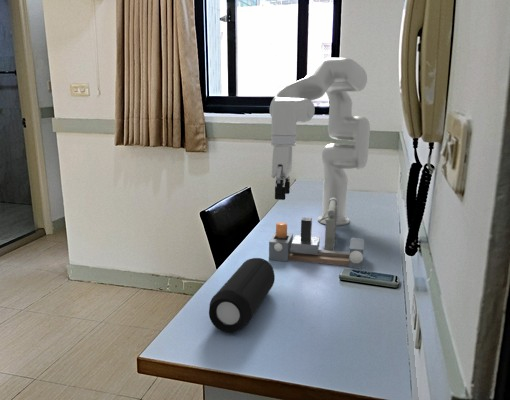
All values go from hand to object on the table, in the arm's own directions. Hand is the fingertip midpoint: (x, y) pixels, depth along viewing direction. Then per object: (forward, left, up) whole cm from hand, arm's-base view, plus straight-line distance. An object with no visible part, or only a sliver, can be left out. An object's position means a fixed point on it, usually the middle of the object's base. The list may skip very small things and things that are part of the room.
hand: (282, 196), depth 147 cm
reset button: (0, 0, -13) cm, 13 cm away
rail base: (0, +11, -20) cm, 23 cm away
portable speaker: (+39, -2, -20) cm, 44 cm away
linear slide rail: (0, +11, -20) cm, 23 cm away
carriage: (0, +8, -17) cm, 19 cm away
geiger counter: (-20, +14, -20) cm, 32 cm away
